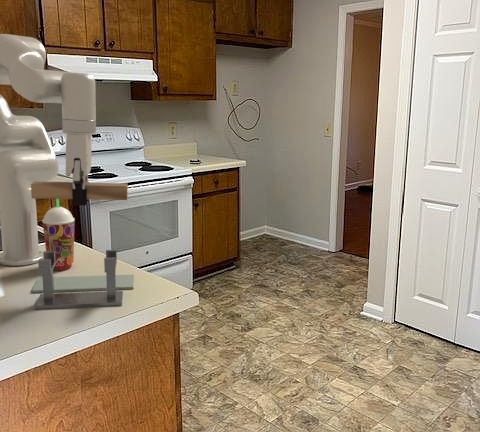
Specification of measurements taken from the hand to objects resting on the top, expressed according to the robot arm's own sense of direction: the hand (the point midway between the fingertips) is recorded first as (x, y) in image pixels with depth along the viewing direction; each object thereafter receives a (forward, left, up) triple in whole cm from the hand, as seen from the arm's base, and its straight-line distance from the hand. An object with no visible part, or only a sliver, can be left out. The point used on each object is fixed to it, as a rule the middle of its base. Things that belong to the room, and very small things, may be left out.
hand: (80, 202), depth 120 cm
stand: (+10, 0, -22) cm, 24 cm away
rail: (0, 0, +1) cm, 1 cm away
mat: (-1, 0, -22) cm, 22 cm away
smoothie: (-15, -8, -22) cm, 27 cm away
